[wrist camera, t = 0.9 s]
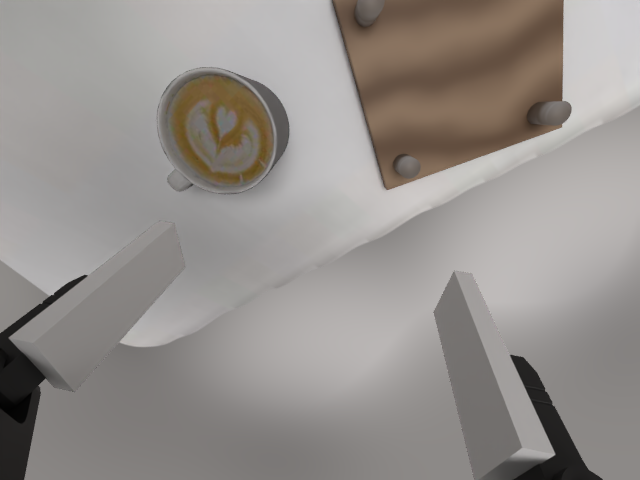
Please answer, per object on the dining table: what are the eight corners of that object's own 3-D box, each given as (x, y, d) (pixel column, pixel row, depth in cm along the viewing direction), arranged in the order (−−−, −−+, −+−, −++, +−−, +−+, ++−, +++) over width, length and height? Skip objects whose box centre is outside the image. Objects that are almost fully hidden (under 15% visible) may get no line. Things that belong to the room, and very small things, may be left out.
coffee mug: (259, 59, 29) (232, 38, 20) (304, 147, 33) (298, 163, 24) (161, 122, 31) (97, 128, 22) (213, 196, 35) (177, 227, 26)
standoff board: (331, -2, 26) (333, -22, 22) (550, -110, 23) (599, -155, 19) (384, 186, 35) (393, 197, 31) (551, 126, 32) (585, 129, 28)
